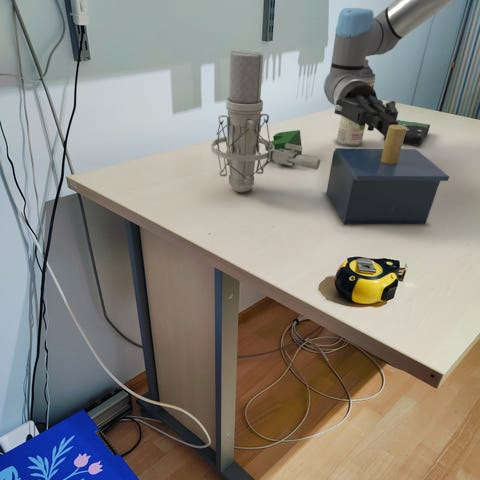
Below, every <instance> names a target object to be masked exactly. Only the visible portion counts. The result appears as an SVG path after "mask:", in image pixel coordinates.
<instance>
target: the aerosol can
mask: <svg viewBox="0 0 480 480" xmlns="http://www.w3.org/2000/svg"><path fill="white" fill-rule="evenodd" d="M361 79H362V80H363V81H365V82H366V83H367V84H369V85H370V86H372V87H373V88H374V87H375V83H376V73H374V72H373V68H371V66H370V64H369V59H367V58H365V63H364V68H363V73H362V78H361ZM366 125H367V124H366V123H365V124H364V125H363V126H360V125H358V124H356V123H354V122H353V121H351V120H349V119H347V118H345V117H343V116H342V115H340V120H339V125H338V126H339V127H338V131H337V137H336V143H337V144H338V145H339V146H343V147H348V148H355V147H356V148H357V147H360V146H361V145H362V142H363V138H364V134H365V129H366Z"/></svg>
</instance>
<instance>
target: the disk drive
mask: <svg viewBox="0 0 480 480" xmlns="http://www.w3.org/2000/svg"><path fill="white" fill-rule="evenodd" d="M396 121H397V122H399V123H398V125H402V126H405V127H407V129H406V133H405V137H404V140H403V144H404V145H411V146H416V147H419V146H421V145H422V143H423V142H424V140H425V139H426V137H427V135H428V133H429V131H430V127H431V124H428V123H423V122H416V121H407V120H400V119H397V120H396ZM383 140H386V137H385V136H384V135H383ZM403 144H402V145H403Z"/></svg>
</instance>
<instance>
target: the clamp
mask: <svg viewBox="0 0 480 480" xmlns="http://www.w3.org/2000/svg"><path fill="white" fill-rule="evenodd" d="M272 137H273V140H270V142H271V143H272V144H273V145H274V148H275V150H279V149H284V150H289V151H292V149H288V148H285V144H286V143H288V144H294V145H298V146H302V138H301V130H300V129H295V130H290V131H281V132H277V133H275V134H274V135H273V136H272ZM302 147H303V146H302ZM264 148H265V151H266V152H268V146H267V145H264ZM269 148H270V147H269ZM270 149H271V148H270ZM295 152H297V155H302V152H303V150H302V151H297V150H295ZM269 161H270V162H274V160H269ZM281 165H282V166H283V167H288V166H289V167H291V166H290V165H285V164H281Z"/></svg>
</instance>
